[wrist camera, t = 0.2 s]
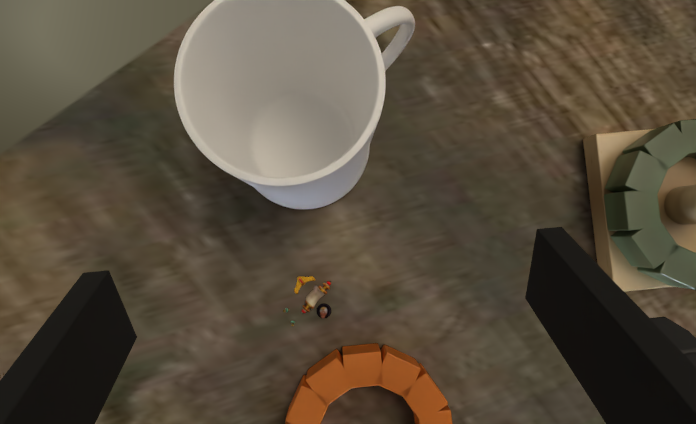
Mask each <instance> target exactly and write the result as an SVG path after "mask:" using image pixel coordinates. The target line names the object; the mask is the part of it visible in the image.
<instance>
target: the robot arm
mask: <svg viewBox="0 0 696 424" xmlns="http://www.w3.org/2000/svg"><path fill="white" fill-rule="evenodd" d="M526 300H527V301H528V303H529V305H530V306H531V308H532V309H533V311H534V312H535V314H536V315H537V317H538V318H539V320H540V322H541V323H542V325H543V326H544V328H545V329H546V331H547V332H548V334H549V336H550V337H551V339H552V340H553V342H554V343H555V345H556V346H557V348H558V350H559V351H560V353H561V354H562V356H563V357H564V359H565V360H566V362H567V363H568V365H569V367H570V368H571V370H572V371H573V373H574V374H575V376H576V377H577V379H578V381H579V382H580V384H581V385H582V387H583V388H584V390H585V391H586V393H587V395H588V396H589V398H590V399H591V401H592V402H593V404H594V405H595V407H596V408H597V410H598V412H599V413H600V415H601V416H602V418H603V419H604V421H605V422H606V424H696V338H695V337H694V336H693V335H692V334H691V333H690V332H689V331H688V330H686V329H684V328H683V327H681V326H679V325H678V324H676V323H674V322H673V321H671V320H669V319H668V318H666V317H657V318H649V317H648V316H647V315H646V314H645V313H644V312H643V311H642V310H641V309H640V308H639V307H638V306H637V305H636V304H635V303H634V302H633V301H632V300H631V299H630V298H629V297H628V295H627V294H626V293H625V292H624V291H623V290H622V289H621V288H620V287H619V286H618V285H617V284H616V283H615V282H614V281H613V280H612V279H611V278H610V277H609V276H608V275H607V274H606V273H605V272H604V271H603V270H602V269H601V267H600V266H599V265H598V264H597V263H596V262H595V261H594V260H593V259H592V258H591V257H590V256H589V255H588V254H587V253H586V252H585V251H584V250H583V249H582V248H581V247H580V246H579V245H578V244H577V243H576V242H575V241H574V240H573V238H572V237H571V236H570V235H569V234H568V233H567V232H566V231H565V230H564V229H563V228H562V227H556V228H545V229H537V232H536V238H535V244H534V250H533V256H532V262H531V268H530V274H529V280H528V286H527V292H526ZM136 338H137V336H136V334H135V331H134V329H133V327H132V324H131V322H130V320H129V317H128V315H127V313H126V310H125V308H124V305H123V303H122V301H121V298H120V296H119V294H118V291H117V289H116V286H115V284H114V282H113V279H112V277H111V275H110V272H109V271H99V272H88V273H83V274H82V275H81V276H80V278H79V279H78V280H77V282H76V283H75V284H74V286H73V287H72V288H71V289H70V291H69V292H68V293H67V295H66V296H65V297H64V299H63V300H62V301H61V302H60V304H59V305H58V306H57V308H56V309H55V310H54V312H53V313H52V314H51V315H50V317H49V318H48V319H47V321H46V322H45V323H44V325H43V326H42V327H41V328H40V330H39V331H38V332H37V334H36V335H35V336H34V338H33V339H32V340H31V341H30V343H29V344H28V345H27V347H26V348H25V349H24V351H23V352H22V353H21V354H20V356H19V357H18V358H17V360H16V361H15V362H14V364H13V365H12V366H11V367H10V369H9V370H8V371H7V373H6V374H5V375H4V377H3V378H2V379H1V380H0V424H95V422H96V420H97V418H98V416H99V414H100V412H101V410H102V408H103V406H104V404H105V402H106V400H107V398H108V395H109V393H110V391H111V389H112V387H113V385H114V383H115V381H116V379H117V377H118V375H119V373H120V371H121V369H122V367H123V365H124V363H125V361H126V359H127V356H128V354H129V352H130V350H131V348H132V346H133V344H134V342H135V340H136Z"/></svg>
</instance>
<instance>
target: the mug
mask: <svg viewBox="0 0 696 424" xmlns="http://www.w3.org/2000/svg"><path fill="white" fill-rule="evenodd" d="M398 25H400V28H399V30H398V32H397V33H396V35H395V37H394V38H393V40H392V41H391V43H390V44H389V45H388V47H387V48H386V49H385V50H384V52H383V53H382V54H381V51H380V48H379V45H378V43H377V41H376V37H377V36H379V35H380V34H382V33H383V32H385V31H387V30H389V29H391V28H393V27H395V26H398ZM414 28H415V19H414V17H413V15H412V13H411V12H410V11H409V10H408V9H407V8H405V7H402V6H394V7H390V8H386V9H384V10H381V11H379V12H377V13H375V14H373V15H371V16H370V17H368V18H366V19H363V18H362V17H361V15H360V14H359V13H358V12H357V11H356V10H355V9H354V8H353V7H352V6H351V5H350V4H348V3H347V2H346V1H345V0H214V1H213V2H212V3H211V4H209V5H208V6H207V7H206V8H205V9H204V10H203V11H202V12H201V13H200V14H199V16H198V17H197V18H196V19H195V21H194V22H193V23H192V25H191V26H190V28H189V30H188V31H187V33H186V35H185V37H184V39H183V41H182V44H181V46H180V49H179V52H178V56H177V60H176V65H175V72H174V92H175V100H176V105H177V109H178V112H179V115H180V118H181V120H182V123H183V125H184V127H185V129H186V131H187V133H188V135H189V136H190V138H191V139H192V141H193V142H194V144H195V145H196V146H197V147H198V149H199V150H200V151H201V152H202V153H203V154H204V155H205V156H206V157H207V158H208V159H209V160H210V161H211V162H213V163H214V164H215V165H216V166H218V167H219V168H221V169H222V170H224V171H225V172H227V173H229V174H231V175H232V176H234V177H236V178H238V179H240V180H242V181H243V182H245V183H247V184H249V185H251V186H253V187H254V188H255V189H256V190H257V191H258V192H259V193H260V194H262V195H263V196H264V197H266V198H267V199H269V200H270V201H272V202H274V203H276V204H279V205H281V206H284V207H288V208H293V209H315V208H320V207H323V206H326V205H329V204H331V203H333V202H335V201H337V200H339V199H340V198H342V197H343V196H344V195H346V194H347V193H348V192H349V191H350V190H351V189H352V188H353V187H354V186H355V185H356V183H357V182H358V180H359V179H360V177H361V176H362V174H363V172H364V169H365V167H366V164H367V161H368V156H369V148H370V142H371V140H372V137H373V134H374V132H375V129H376V126H377V123H378V121H379V118H380V115H381V111H382V108H383V103H384V97H385V71H386V70H387V69H388V68H389V66H390V65H391V64H392V63H393V62H394V61H395V60H396V58H397V57H398V56H399V55H400V53H401V52H402V51H403V49H404V48H405V47H406V45H407V43H408V42H409V40H410V38H411V36H412V34H413V32H414Z"/></svg>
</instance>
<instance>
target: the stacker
mask: <svg viewBox="0 0 696 424" xmlns="http://www.w3.org/2000/svg"><path fill="white" fill-rule="evenodd" d="M583 144H584V153H585V161H586V170H587V178H588V187H589V195H590V204H591V212H592V221H593V230H594V238H595V247H596V255H597V264H598V265H599V266H600V267H601V269H602V270H603V271H604V272H605V273H606V274H607V275H608V276H609V277H610V278H611V279H612V280H613V281H614V282H615V283H616V284H617V285H618V286H619V287H620V288H621V289H622V290H623V291H634V290H645V289H655V288H665V287H675V286H676V287H681V288H687V289H694V290H696V119H693V120H681V121H678V122H674V123H671V124H668V125H665V126H662V127H659V128H656V129H647V130H635V131H624V132H613V133H601V134H595V135H592V136H589V137H587V138H584V139H583Z"/></svg>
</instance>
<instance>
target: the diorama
mask: <svg viewBox="0 0 696 424" xmlns="http://www.w3.org/2000/svg"><path fill="white" fill-rule="evenodd" d="M297 280H298V281H297V284H296V288H295V289H294V291H295V293H296V294H298V291H299V289H300V287H301V285H302V286H303V285H304V284H305V282H308V281H315V278H314V277H312V276H310V277H301V276H299V277H298V278H297ZM323 284H324V286H323V287H321V286H319V287H317V286H316V285H315V287H314V289H313V291H312V292H311V293H310V294H309V295H308V296H307V297H306V301H305V302H306V304H307V305H306V306H304V305H303V306H302V307H303V309H302V314H303V313H306V312H310V311H309V308H310V310H311V308H312V309H313V308H314V306H315V304H316V303H317V301H318V300H319V299H320V298H321V297H322V296H323V295H325V294H327V292H326V289H327V288H328V289H330V287H329V286H330V285H331V281H327V282H326V283H325V282H324V283H323ZM283 311H284V312H285V311H286V312H288V309H287V308H286V309H285V310H283ZM317 314H318V316H319V317H321V318H327V317H328V316H329V315H330V314H331V308H330V306H329V305H327V304H320V305H319V306H318V308H317ZM291 323H292V326H294V323H295V322H294V321H291Z"/></svg>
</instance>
